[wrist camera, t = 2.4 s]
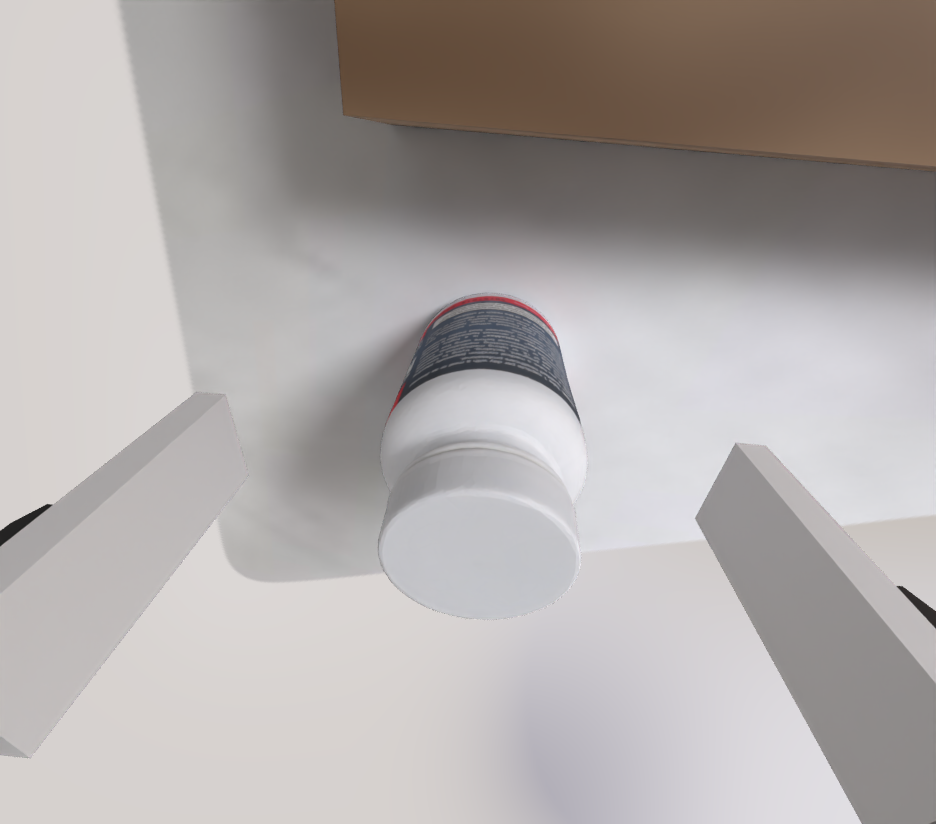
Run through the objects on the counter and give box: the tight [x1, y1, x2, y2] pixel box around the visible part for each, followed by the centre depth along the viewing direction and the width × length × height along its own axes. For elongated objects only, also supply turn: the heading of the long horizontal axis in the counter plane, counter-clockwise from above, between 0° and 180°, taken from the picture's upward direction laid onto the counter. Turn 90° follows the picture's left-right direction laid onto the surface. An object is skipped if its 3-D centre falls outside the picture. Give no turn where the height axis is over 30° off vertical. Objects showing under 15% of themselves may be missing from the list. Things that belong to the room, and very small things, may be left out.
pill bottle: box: [378, 293, 588, 620], centre depth 11 cm, size 5×5×9 cm
